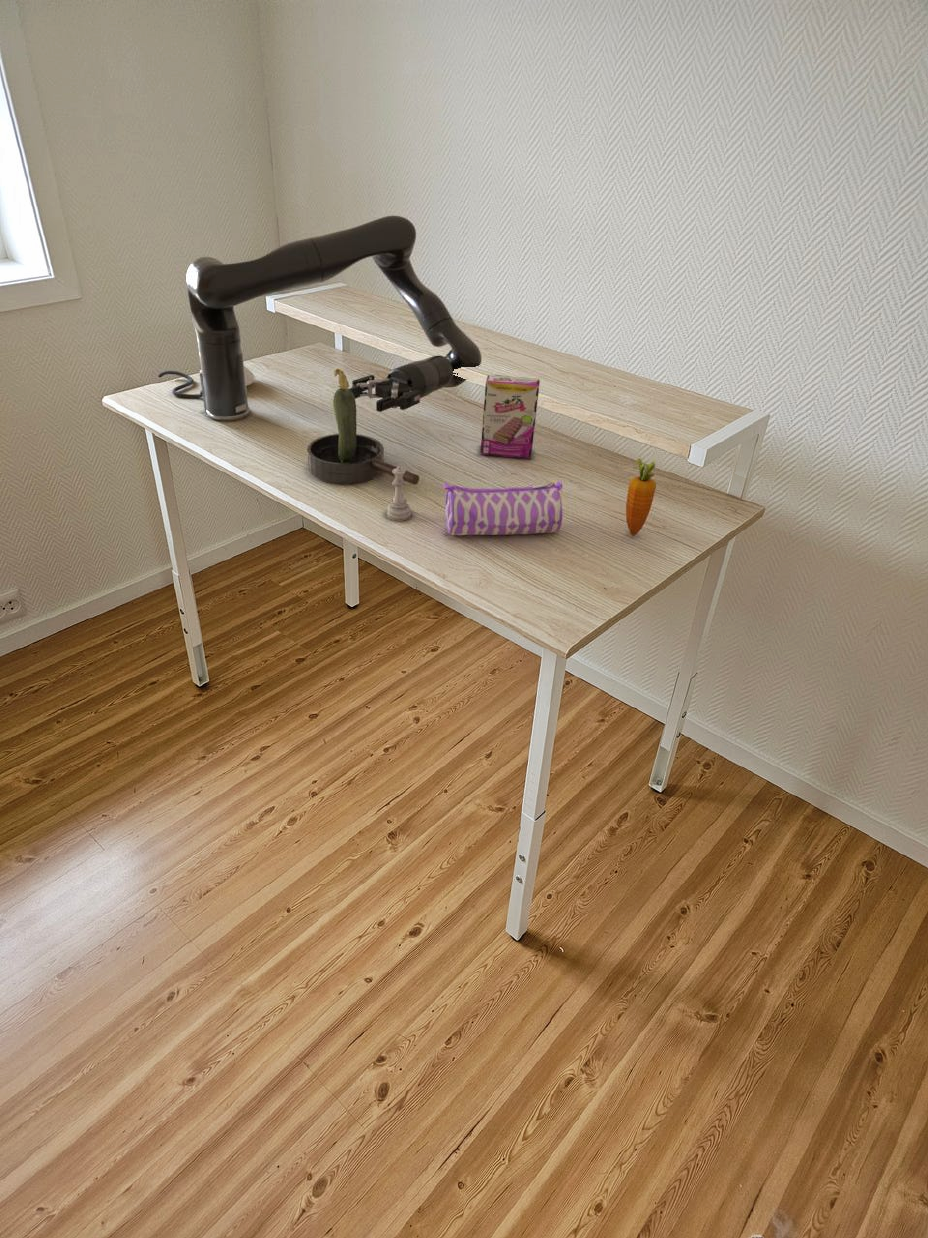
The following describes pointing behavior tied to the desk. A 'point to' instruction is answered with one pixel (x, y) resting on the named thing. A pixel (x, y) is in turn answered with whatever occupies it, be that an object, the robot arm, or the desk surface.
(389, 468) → the pan handle
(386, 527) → the desk surface
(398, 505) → the chess piece
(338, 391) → the vegetable
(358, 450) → the pan
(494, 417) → the candy bar box
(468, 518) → the pencil case
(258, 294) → the robot arm
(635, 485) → the carrot
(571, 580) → the desk surface
